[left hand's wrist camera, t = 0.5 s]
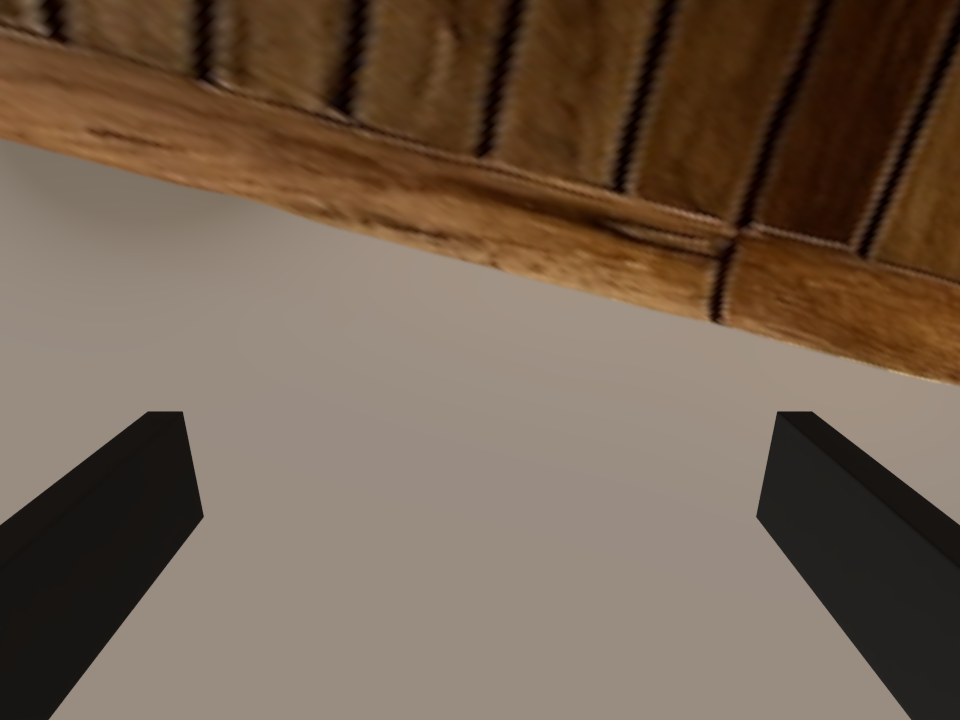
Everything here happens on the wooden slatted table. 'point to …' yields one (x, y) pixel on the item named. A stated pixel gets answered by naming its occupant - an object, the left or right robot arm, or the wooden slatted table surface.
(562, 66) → the wooden slatted table surface
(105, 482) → the left robot arm
